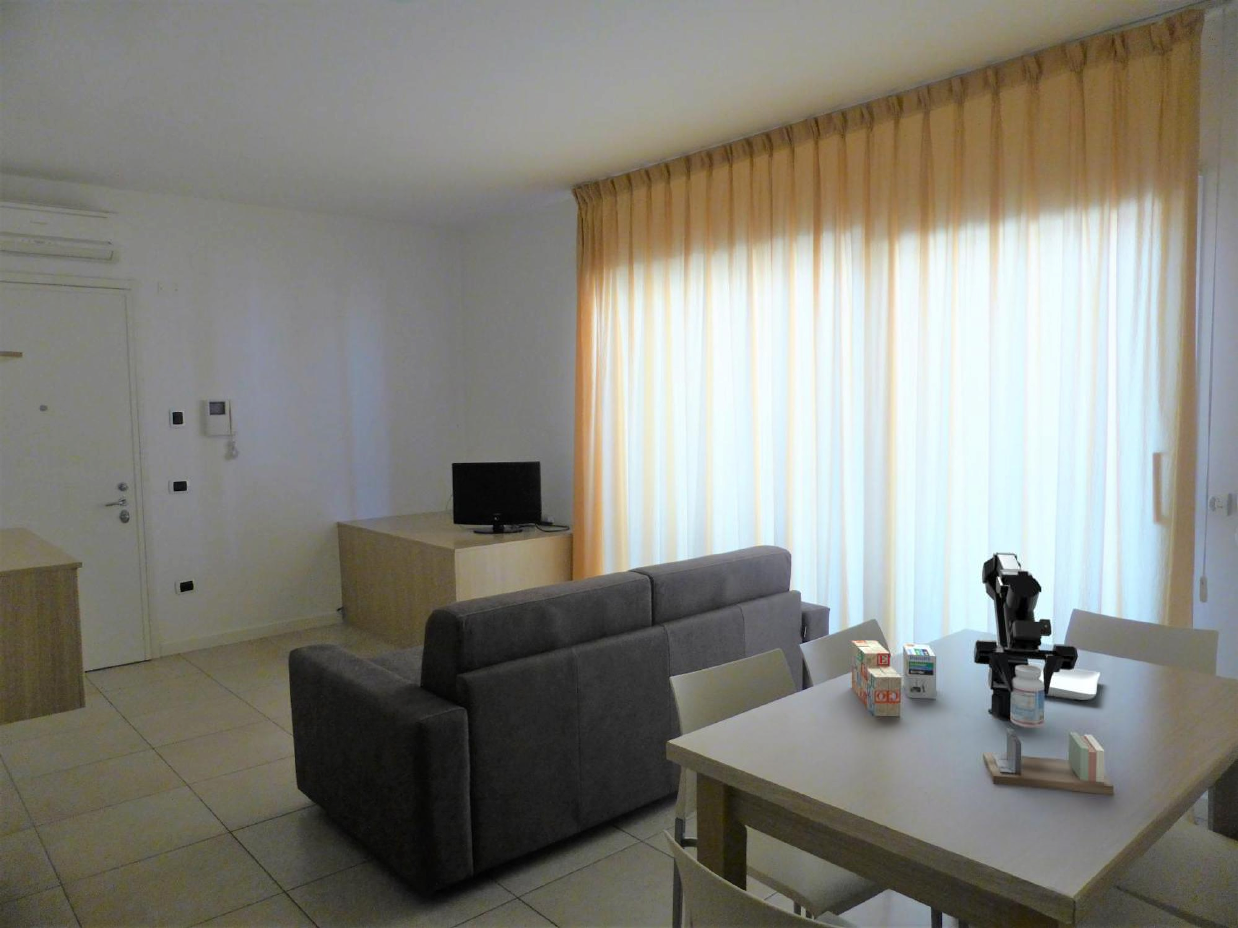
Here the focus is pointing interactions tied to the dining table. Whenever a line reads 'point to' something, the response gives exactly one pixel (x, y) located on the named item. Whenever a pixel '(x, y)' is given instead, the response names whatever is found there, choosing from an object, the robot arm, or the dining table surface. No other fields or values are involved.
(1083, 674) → the salad plate
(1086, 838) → the dining table surface
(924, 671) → the light bulb box
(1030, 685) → the pill bottle
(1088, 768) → the row of books
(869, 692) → the stack of blocks
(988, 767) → the shelf board
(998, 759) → the bookend
